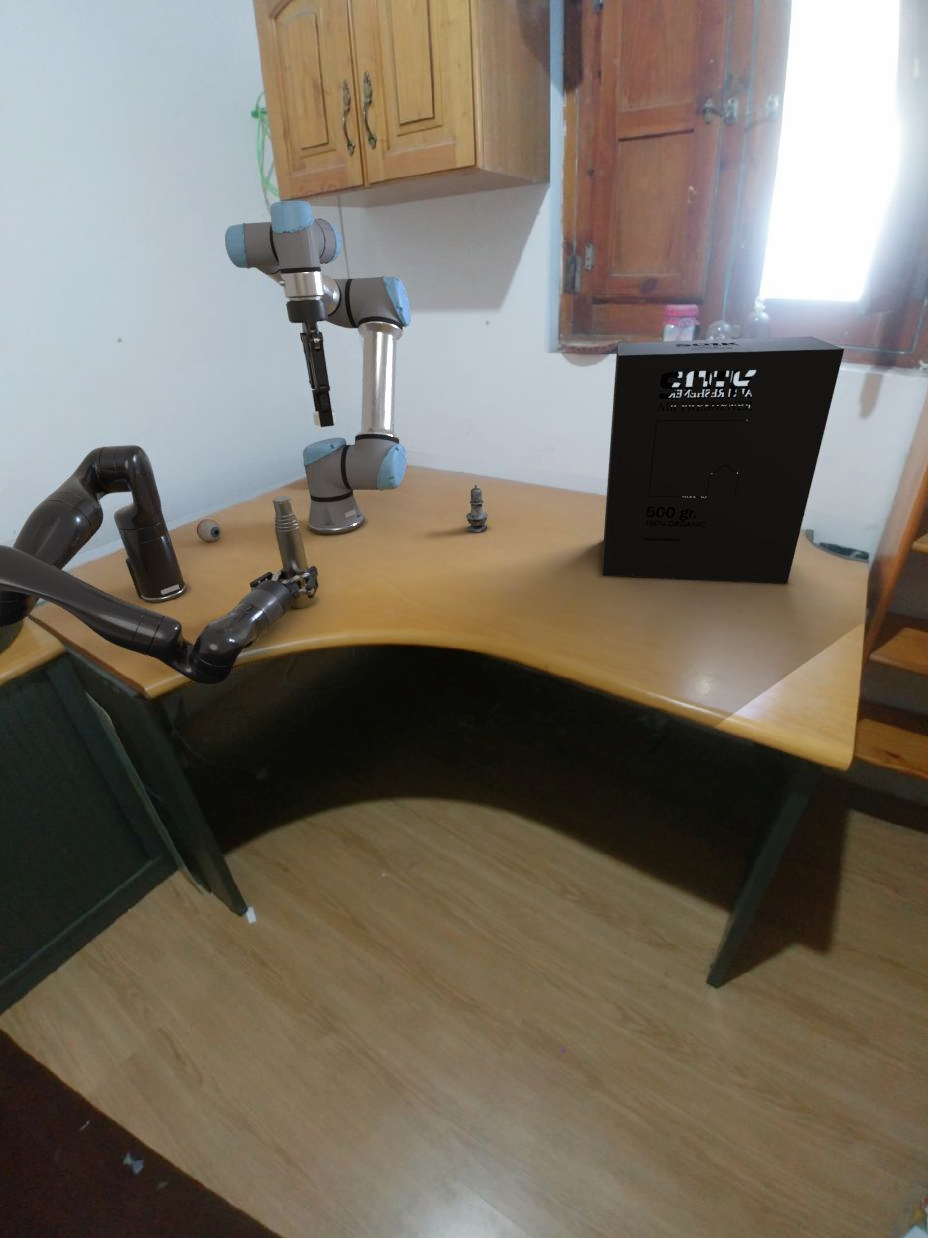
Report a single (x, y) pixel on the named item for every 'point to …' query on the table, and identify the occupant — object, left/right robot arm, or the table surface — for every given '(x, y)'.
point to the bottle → (290, 545)
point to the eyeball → (208, 530)
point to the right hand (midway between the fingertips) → (325, 423)
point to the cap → (317, 421)
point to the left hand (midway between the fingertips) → (302, 569)
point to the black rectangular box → (714, 456)
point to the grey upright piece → (476, 512)
